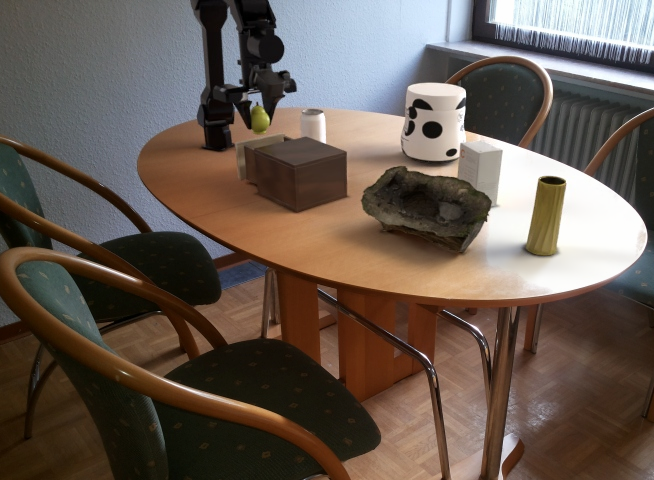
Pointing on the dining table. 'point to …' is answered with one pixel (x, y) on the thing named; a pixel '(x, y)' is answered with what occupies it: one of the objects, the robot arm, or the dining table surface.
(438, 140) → the milk container
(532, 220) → the vase
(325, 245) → the dining table surface
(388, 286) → the dining table surface
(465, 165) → the small box
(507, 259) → the dining table surface
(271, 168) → the cabinet
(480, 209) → the grey rough hollow block
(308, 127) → the can
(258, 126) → the pear
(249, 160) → the drawer
